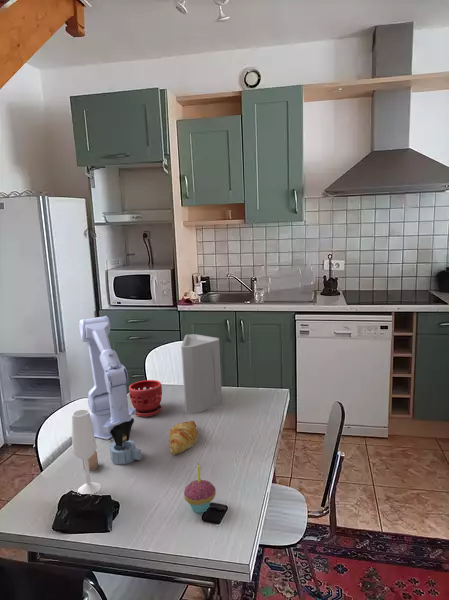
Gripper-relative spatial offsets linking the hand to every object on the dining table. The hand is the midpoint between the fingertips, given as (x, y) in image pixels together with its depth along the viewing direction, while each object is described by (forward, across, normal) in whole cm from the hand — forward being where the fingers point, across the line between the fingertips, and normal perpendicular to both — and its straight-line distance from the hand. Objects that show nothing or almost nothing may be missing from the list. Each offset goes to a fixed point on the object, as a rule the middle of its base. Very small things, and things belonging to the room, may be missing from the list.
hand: (122, 442), depth 145 cm
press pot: (+5, 0, 0) cm, 5 cm away
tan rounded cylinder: (+5, -8, +7) cm, 12 cm away
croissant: (+6, +16, -13) cm, 22 cm away
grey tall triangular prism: (+6, +48, -6) cm, 49 cm away
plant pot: (+6, +33, +13) cm, 36 cm away
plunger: (+4, 0, 0) cm, 4 cm away
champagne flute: (+6, -18, -1) cm, 19 cm away
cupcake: (+6, -14, -36) cm, 39 cm away
